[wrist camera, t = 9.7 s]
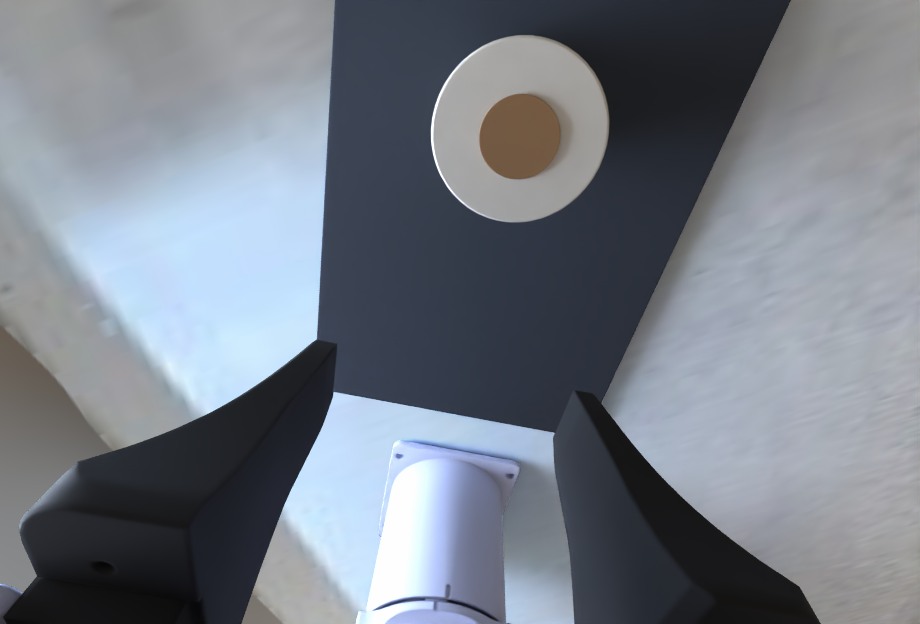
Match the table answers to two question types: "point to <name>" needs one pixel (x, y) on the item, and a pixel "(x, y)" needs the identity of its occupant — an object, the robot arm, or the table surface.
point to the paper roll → (520, 128)
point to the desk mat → (514, 243)
